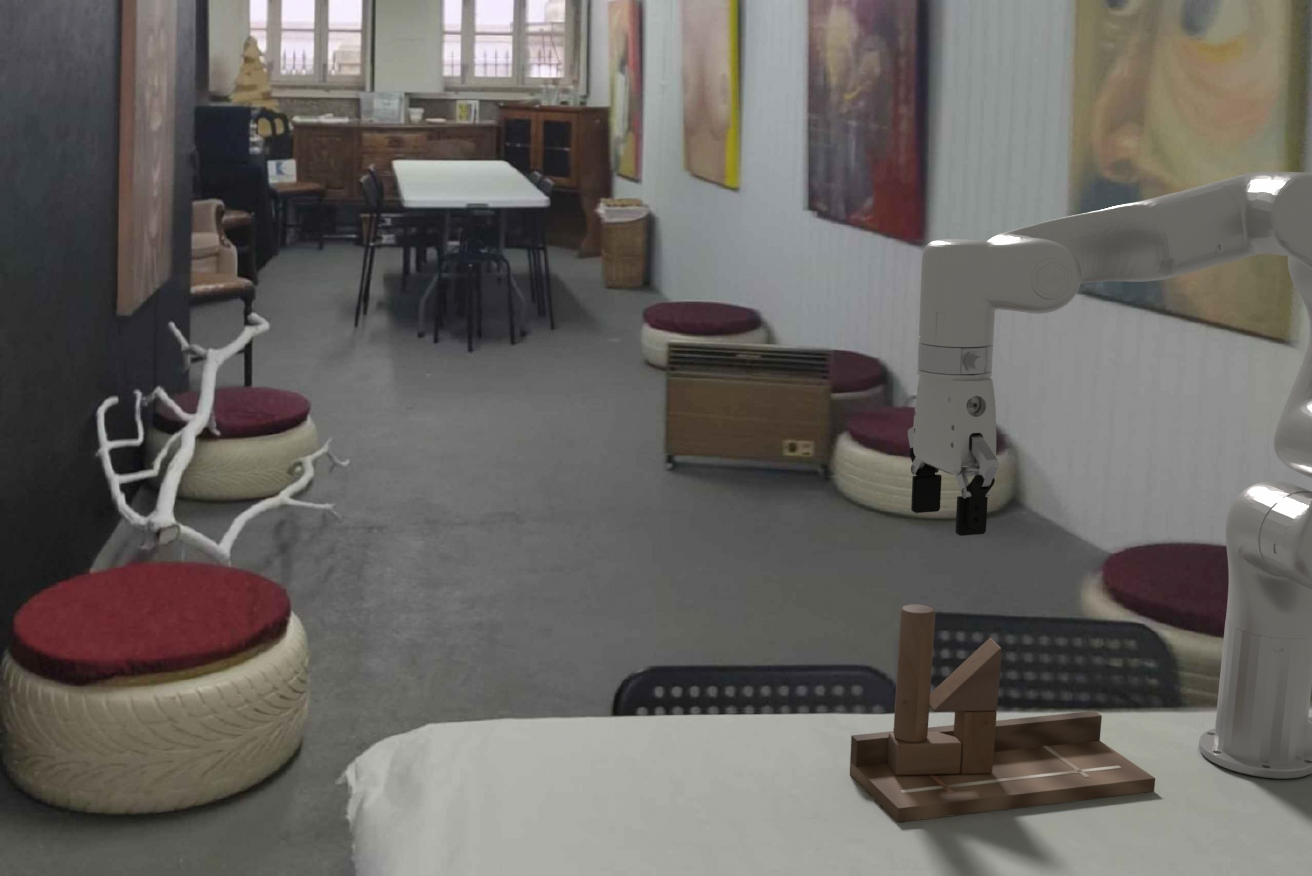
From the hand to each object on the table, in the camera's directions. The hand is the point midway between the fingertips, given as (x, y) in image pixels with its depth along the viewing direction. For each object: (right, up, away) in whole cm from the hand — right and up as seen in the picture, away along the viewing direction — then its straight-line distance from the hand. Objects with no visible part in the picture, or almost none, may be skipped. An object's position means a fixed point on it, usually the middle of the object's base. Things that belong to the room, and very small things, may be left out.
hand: (947, 522), depth 156 cm
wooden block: (0, -27, +4) cm, 27 cm away
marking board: (+7, -28, +4) cm, 29 cm away
